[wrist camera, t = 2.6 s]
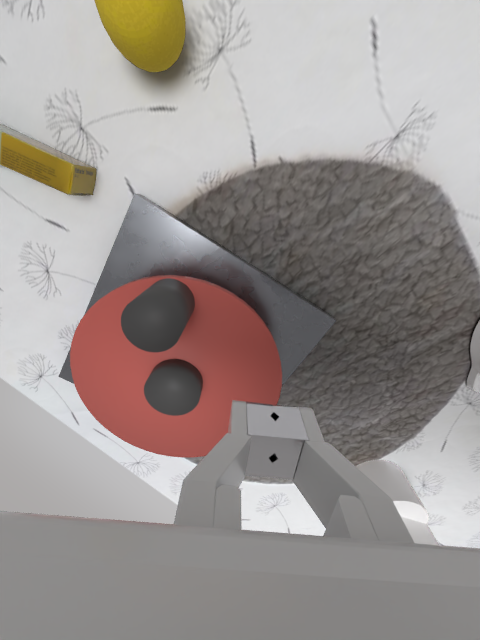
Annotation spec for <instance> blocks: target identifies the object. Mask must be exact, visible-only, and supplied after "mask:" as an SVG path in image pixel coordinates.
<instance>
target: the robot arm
mask: <svg viewBox="0 0 480 640" xmlns="http://www.w3.org/2000/svg"><path fill="white" fill-rule="evenodd" d="M470 353H471V360H472V367H471V370H470V373H469V375H468V378H467V387H468V388H470V389H471V390H473V391H474V392H476V393H479V394H480V320H479V322H478V324H477V326H476V328H475V330H474V333H473V336H472V340H471V346H470ZM245 476H255V477H270V478H279V479H288V480H293V482H294V483H295V485H296V486H297V488H298V489H299V491H300V492H301V493H302V495H303V496H304V498H305V499H306V501H307V502H308V504H309V505H310V506H311V508H312V509H313V511H314V512H315V514H316V515H317V516H318V518H319V519H320V521H321V522H322V524H323V525H324V527H325V528H326V531H325V533H324V536H313V535H301V534H288V533H275V532H263V531H250V530H241V490H240V489H239V486H240V484H241V483H242V481H243V479H244V478H245ZM0 640H480V548H468V547H455V546H443V545H430V544H417V543H414V541H413V539H412V537H411V535H410V533H409V531H408V529H407V528H406V526H405V524H404V522H403V520H402V518H401V516H400V514H399V512H398V510H397V508H396V507H395V505H394V503H393V501H392V499H391V498H390V497H389V496H388V495H387V494H386V493H385V492H384V491H382V490H381V489H380V488H379V487H378V486H377V485H376V484H375V483H374V482H372V481H371V480H370V479H369V478H368V477H367V476H366V475H365V474H363V473H362V472H361V471H360V470H359V469H358V468H357V467H356V466H355V465H353V464H352V463H351V462H350V461H349V460H348V459H347V458H346V457H344V456H343V455H342V454H341V453H340V452H339V451H338V450H337V449H336V448H334V447H333V446H332V445H331V444H330V443H326V442H325V441H324V438H323V436H322V433H321V430H320V428H319V425H318V422H317V420H316V417H315V414H314V412H313V409H312V408H308V407H291V406H281V405H271V404H263V403H255V402H247V401H246V402H245V401H237V400H232V405H231V412H230V419H229V427H228V433H227V434H226V435H225V436H224V437H223V438H222V439H221V440H220V441H219V442H218V443H217V444H216V445H215V446H214V448H213V449H212V450H211V451H210V452H209V453H208V454H207V455H206V456H205V457H204V458H203V459H202V460H201V462H200V463H199V464H198V465H197V466H196V467H195V468H194V469H193V470H192V471H191V472H190V473H189V474H188V476H187V477H186V478H185V479H184V480H183V484H182V489H181V493H180V498H179V502H178V508H177V511H176V516H175V521H174V524H161V523H148V522H135V521H122V520H110V519H97V518H84V517H71V516H58V515H45V514H32V513H20V512H7V511H0Z"/></svg>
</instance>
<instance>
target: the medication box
mask: <svg viewBox="0 0 480 640" xmlns="http://www.w3.org/2000/svg"><path fill="white" fill-rule="evenodd" d="M0 165H2V166H5V167H7V168H9V169H11V170H14V171H16V172H18V173H20V174H23V175H25V176H27V177H30V178H32V179H34V180H36V181H39V182H41V183H43V184H45V185H48V186H50V187H52V188H55V189H57V190H59V191H61V192H64V193H66V194H68V195H93V190H94V186H95V181H96V168H94V167H92V166H90V165H88V164H86V163H83V162H81V161H79V160H77V159H75V158H73V157H71V156H69V155H66V154H64V153H62V152H60V151H58V150H56V149H54V148H51V147H49V146H47V145H45V144H43V143H41V142H39V141H36V140H34V139H32V138H30V137H28V136H26V135H24V134H22V133H19V132H17V131H15V130H13V129H11V128H9V127H7V126H4V125H2V124H0Z"/></svg>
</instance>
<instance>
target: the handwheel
mask: <svg viewBox="0 0 480 640" xmlns="http://www.w3.org/2000/svg"><path fill="white" fill-rule="evenodd" d="M70 367H71V372H72V378H73V381H74V384H75V387H76V390H77V392H78V394H79V396H80V398H81V400H82V401H83V403H84V404H85V406H86V407H87V409H88V410H89V411H90V413H91V414H92V415H93V416H94V417H95V419H96V420H98V421H99V422H100V423H101V424H102V425H103V426H104V427H105V428H106V429H108V430H109V431H110V432H111V433H113V434H114V435H116V436H117V437H119V438H120V439H122V440H124V441H125V442H127V443H129V444H132V445H134V446H136V447H138V448H141V449H143V450H146V451H149V452H153V453H156V454H161V455H166V456H173V457H201V456H206V455H207V454H208V453H209V452H210V451H211V450H212V449H213V448H214V446H215V445H216V444H217V443H218V442H219V441H220V440H221V439H222V438H223V437H224V436H225V435H226V434H227V433H228V427H229V419H230V412H231V405H232V400H237V401H245V402H246V401H247V402H255V403H263V404H271V405H277V402H278V400H279V397H280V392H281V387H282V369H281V361H280V357H279V353H278V350H277V346H276V343H275V341H274V339H273V336H272V334H271V332H270V330H269V329H268V327H267V326H266V324H265V323H264V321H263V320H262V319H261V317H260V316H259V315H258V314H257V313H256V311H255V310H254V309H252V308H251V307H250V306H249V305H248V304H247V303H246V302H245V301H244V300H242V299H241V298H239V297H238V296H236V295H235V294H233V293H232V292H230V291H228V290H226V289H224V288H222V287H220V286H218V285H216V284H213V283H210V282H208V281H205V280H201V279H197V278H193V277H188V276H178V275H158V276H152V277H145V278H141V279H138V280H135V281H132V282H129V283H127V284H125V285H122V286H120V287H118V288H116V289H115V290H113V291H111V292H110V293H108V294H107V295H105V296H104V297H102V298H101V299H99V300H98V301H97V302H96V303H95V304H94V305H93V306H92V307H91V308H90V309H89V310H88V311H87V313H86V314H85V315H84V316H83V318H82V319H81V321H80V323H79V325H78V327H77V329H76V331H75V334H74V337H73V340H72V344H71V351H70Z"/></svg>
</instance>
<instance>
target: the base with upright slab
mask: <svg viewBox="0 0 480 640" xmlns="http://www.w3.org/2000/svg"><path fill="white" fill-rule="evenodd" d="M356 467H357V468H358V469H359V470H360V471H361V472H362V473H363V474H365V475H366V476H367V477H368V478H369V479H370V480H371V481H372V482H374V483H375V484H376V485H377V486H378V487H379V488H380V489H381V490H382V491H384V492H385V493H386V494H387V495H388V496H389V497H390V498H391V499H392V501H393V503H394V505H395V507H396V508H397V510H398V512H399V514H400V516H401V518H402V520H403V522H404V524H405V526H406V528H407V529H408V531H409V533H410V535H411V537H412V539H413V541H414V543H417V544H430V545H439V544H438V542H437V540H436V539H435V537H434V535H433V533H432V532H431V530H430V528H429V527H428V525H427V524H428V521H429V515H428V513H427V511H426V509H425V507H424V506H423V504H422V502H421V501H420V499H419V497H418V496H417V494H416V492H415V491H414V489H413V488H412V486H411V484H410V483H409V481H408V479H407V478H406V476H405V474H404V473H403V471H402V469H401V468H400V467H399V466H398V465H397V464H395V463H393V462H391V461H386V460H370V461H366V462H363V463H360V464H358V465H357V466H356Z"/></svg>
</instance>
